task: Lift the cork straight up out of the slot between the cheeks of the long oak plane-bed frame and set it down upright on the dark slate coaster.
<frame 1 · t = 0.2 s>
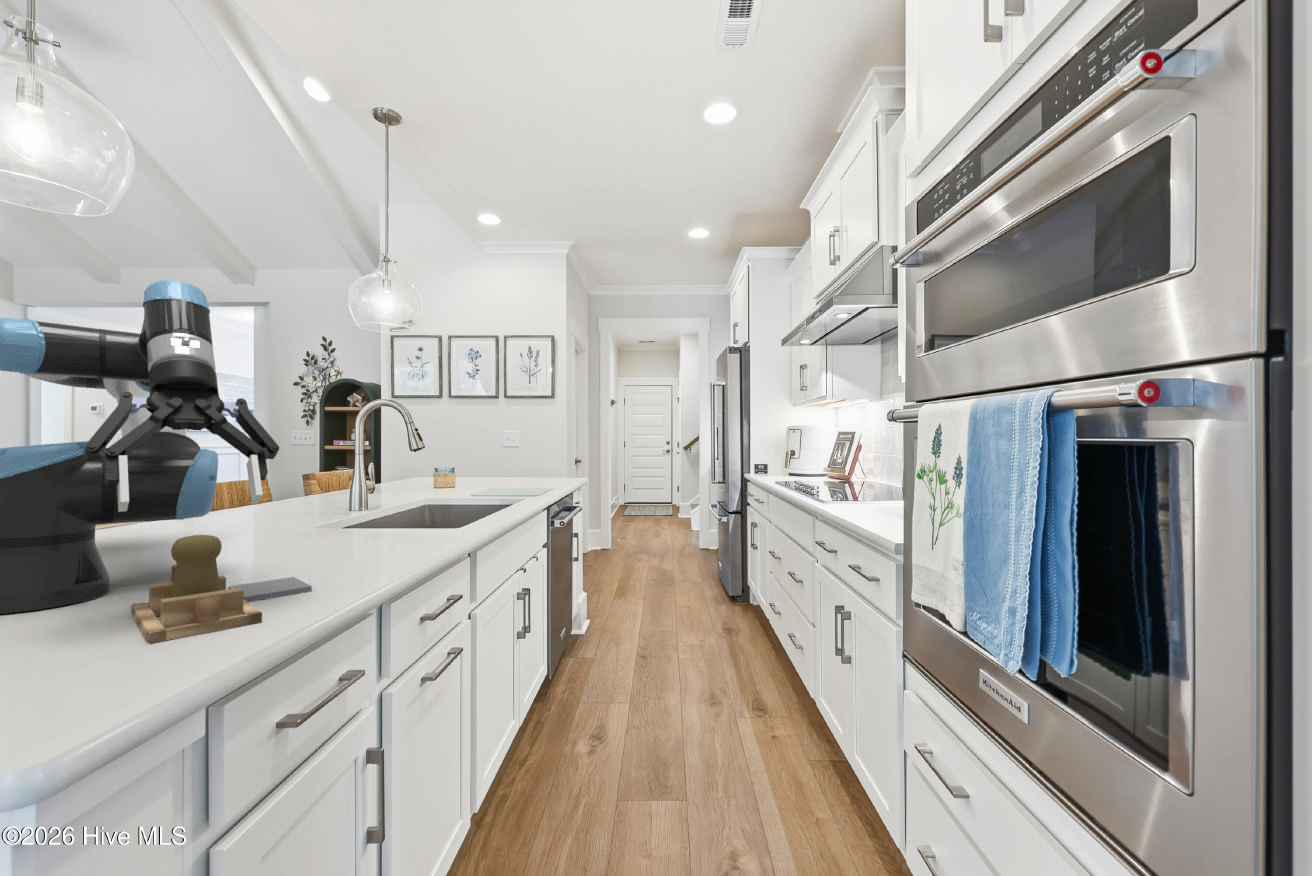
hand: (195, 503, 72), 16 cm above the countertop, tool tilted 30°, fingers open, 13 cm apart
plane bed: (195, 617, 74), on the countertop
slate coaster: (269, 591, 87), on the countertop
cork: (195, 619, 74), resting in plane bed
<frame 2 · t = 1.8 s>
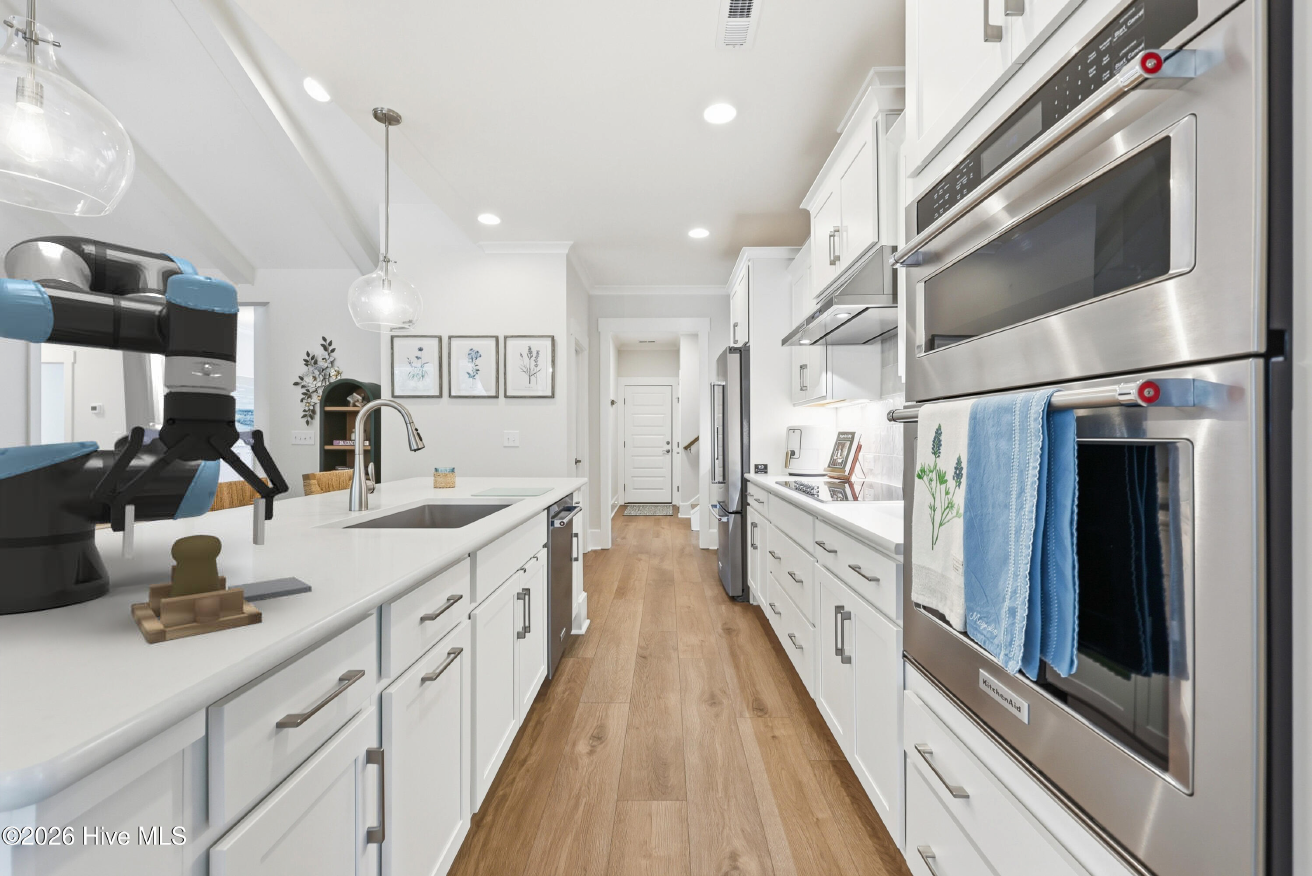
hand: (197, 550, 74), 9 cm above the countertop, tool pointing down, fingers open, 13 cm apart
nothing on the countertop moved.
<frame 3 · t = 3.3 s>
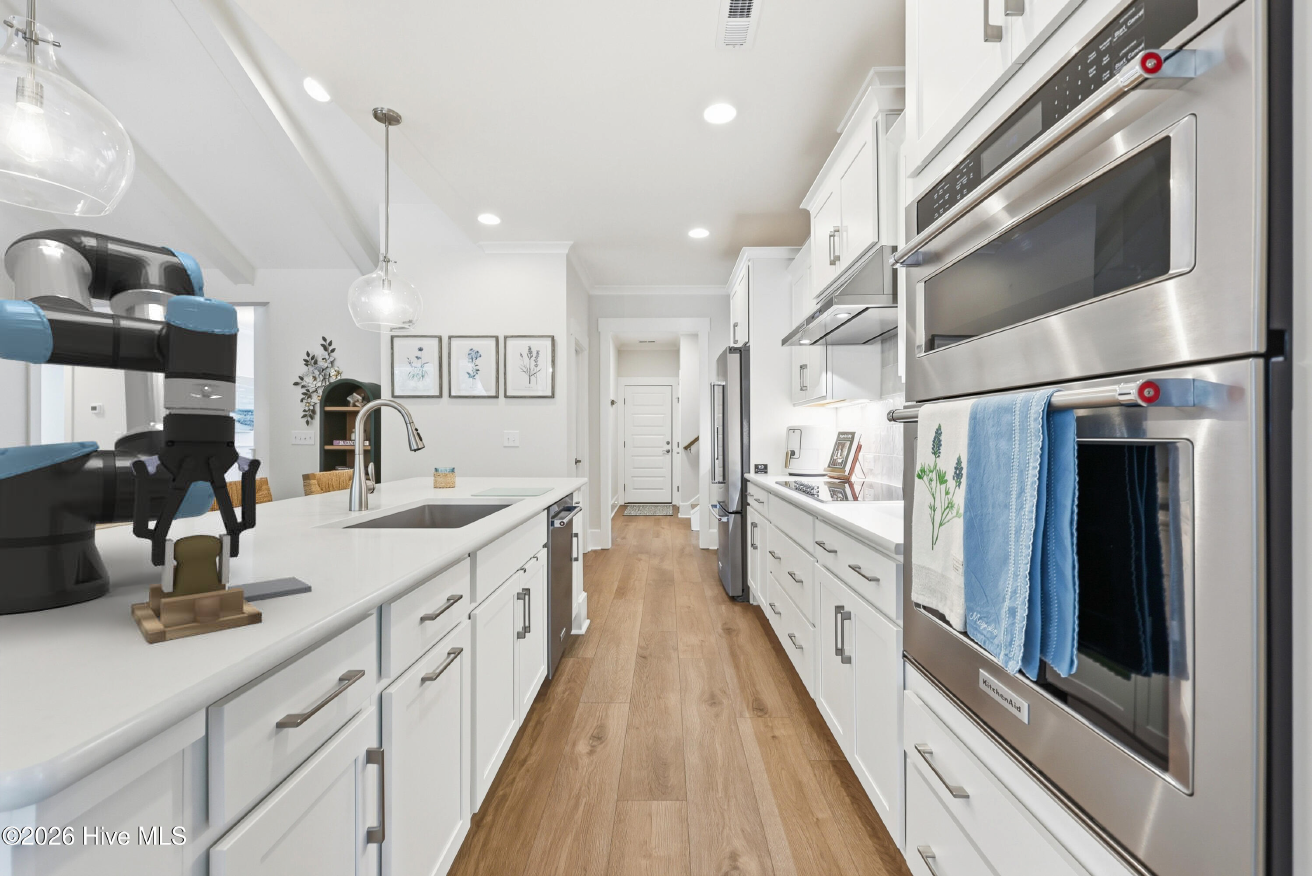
hand: (196, 585, 74), 4 cm above the countertop, tool pointing down, fingers closed on cork, 5 cm apart
cork: (195, 619, 74), resting in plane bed, touching gripper
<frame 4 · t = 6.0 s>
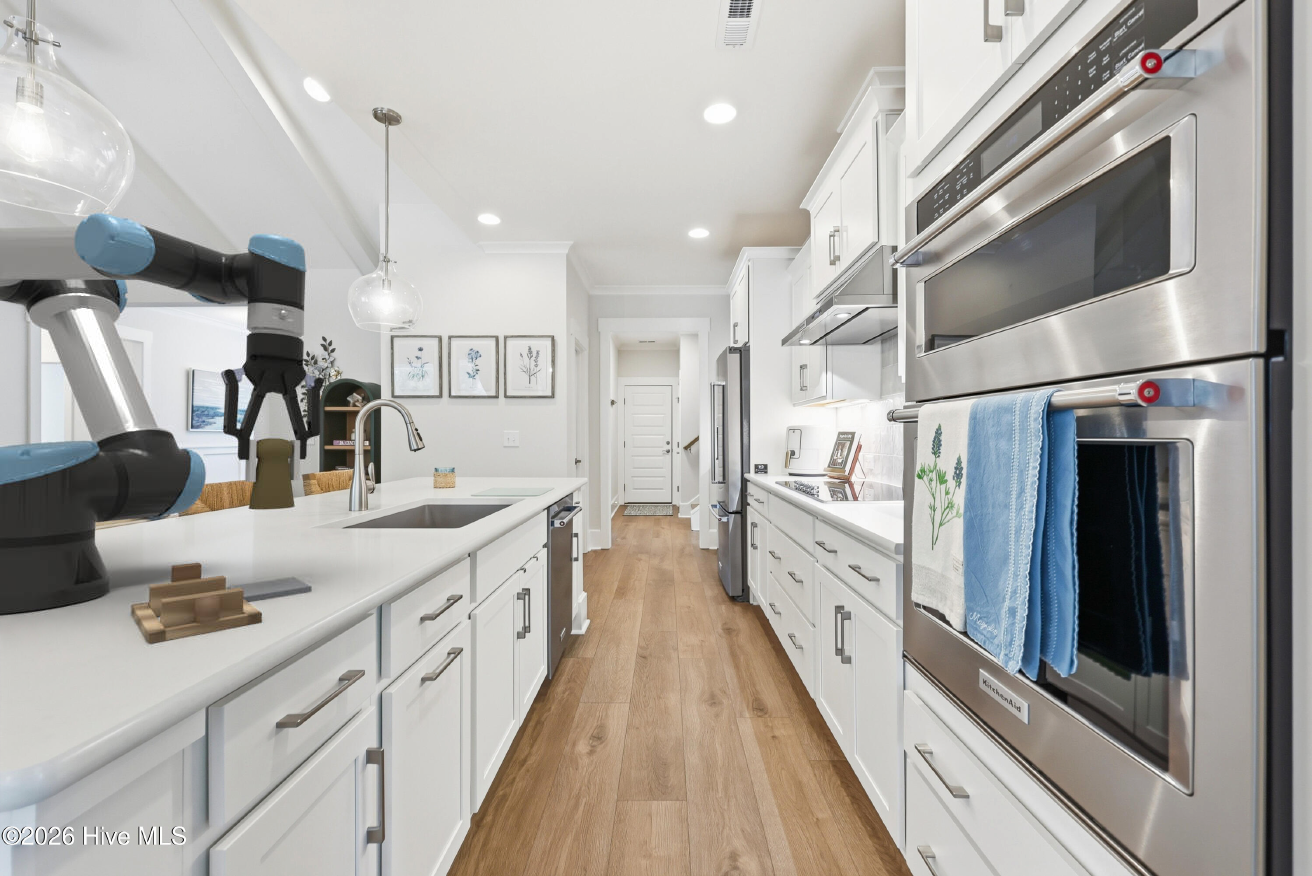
hand: (272, 480, 88), 18 cm above the countertop, tool pointing down, fingers closed on cork, 5 cm apart
cork: (272, 508, 87), point 13 cm above the countertop, touching gripper
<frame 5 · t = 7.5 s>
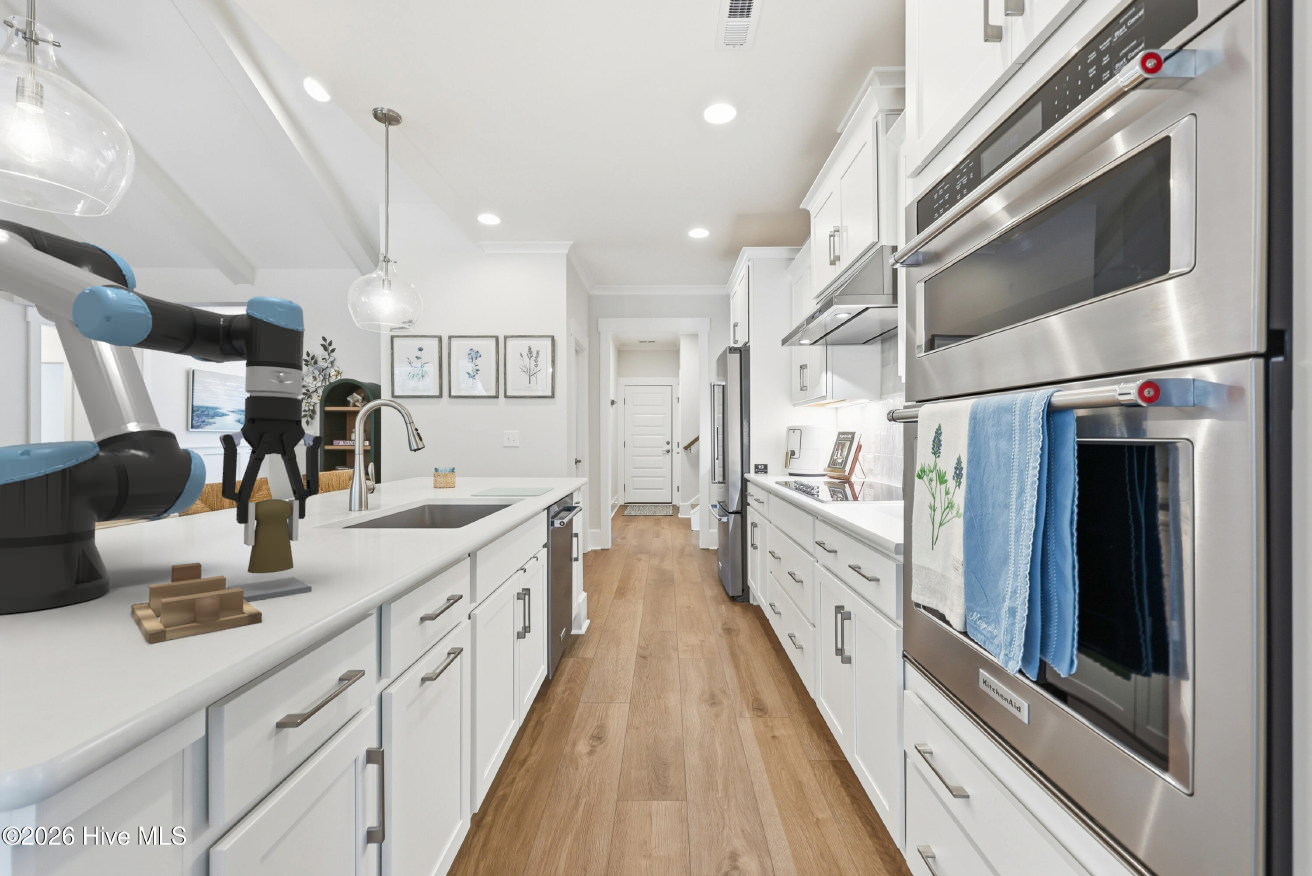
hand: (271, 541, 87), 8 cm above the countertop, tool pointing down, fingers closed on cork, 5 cm apart
cork: (271, 570, 87), point 3 cm above the countertop, touching gripper
when the fingers open (6 cm above the countertop, at t = 8.6 s): cork drops 1 cm, resting on slate coaster.
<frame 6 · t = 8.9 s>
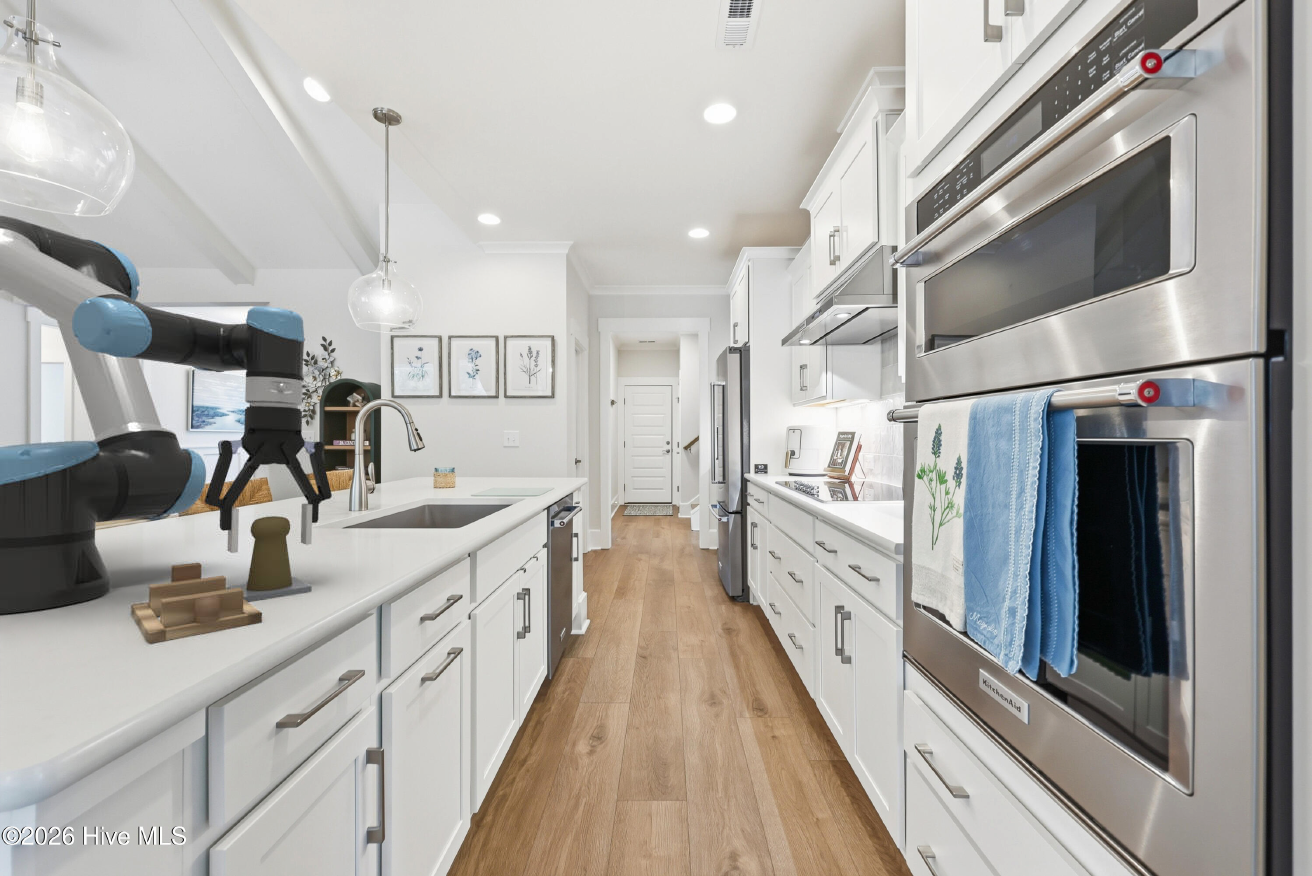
hand: (270, 547, 87), 7 cm above the countertop, tool pointing down, fingers open, 9 cm apart
cork: (269, 587, 87), point 1 cm above the countertop, touching slate coaster
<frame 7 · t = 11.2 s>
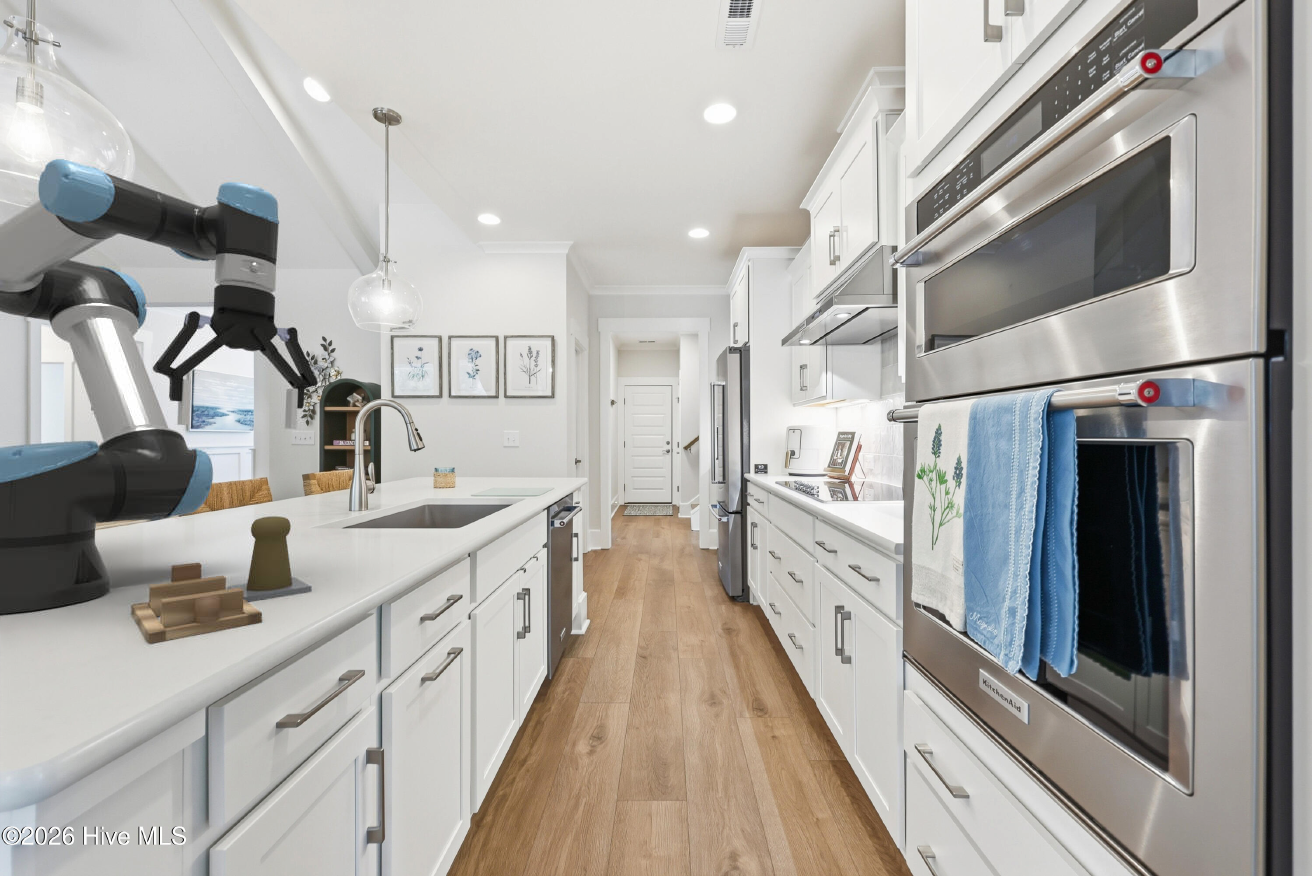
hand: (240, 427, 84), 26 cm above the countertop, tool pointing down, fingers open, 13 cm apart
nothing on the countertop moved.
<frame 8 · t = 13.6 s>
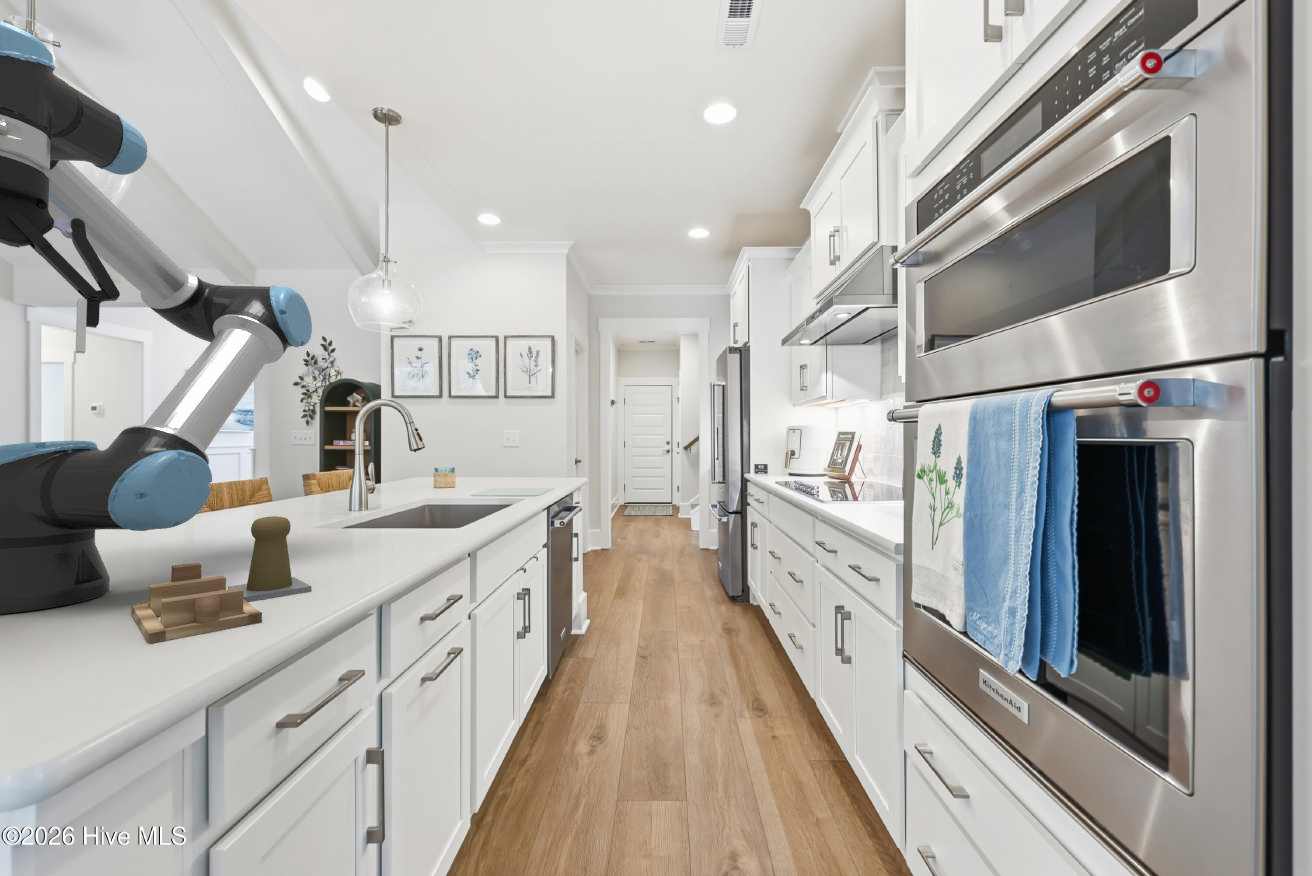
nothing on the countertop moved.
at the end: cork inside the target area on the slate coaster (0.0 cm from its centre), point 0.6 cm above the slate coaster's base; cork tilted 0°; the gripper is holding nothing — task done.
